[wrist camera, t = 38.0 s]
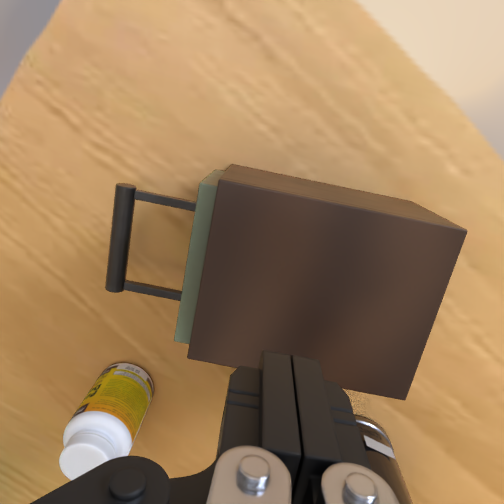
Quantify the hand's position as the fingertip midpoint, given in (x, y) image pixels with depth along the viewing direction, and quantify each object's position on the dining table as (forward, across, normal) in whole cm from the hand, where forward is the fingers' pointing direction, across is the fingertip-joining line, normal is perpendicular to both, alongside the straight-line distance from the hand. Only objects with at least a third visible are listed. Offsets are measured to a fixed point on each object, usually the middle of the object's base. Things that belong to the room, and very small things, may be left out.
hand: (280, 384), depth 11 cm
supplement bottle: (+26, +10, +20) cm, 35 cm away
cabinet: (+26, -4, +3) cm, 26 cm away
